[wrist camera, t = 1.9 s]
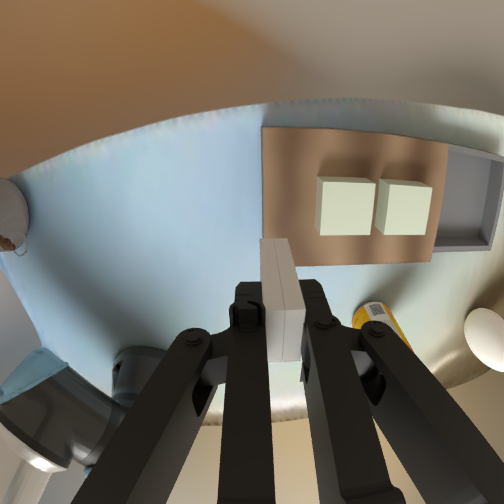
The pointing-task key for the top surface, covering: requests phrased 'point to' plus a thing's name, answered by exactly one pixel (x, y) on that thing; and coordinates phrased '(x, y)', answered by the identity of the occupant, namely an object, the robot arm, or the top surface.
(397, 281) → the top surface
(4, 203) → the coffee pot
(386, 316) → the beer can
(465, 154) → the box
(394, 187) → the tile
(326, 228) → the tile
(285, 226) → the walnut board
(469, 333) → the air blower bulb
